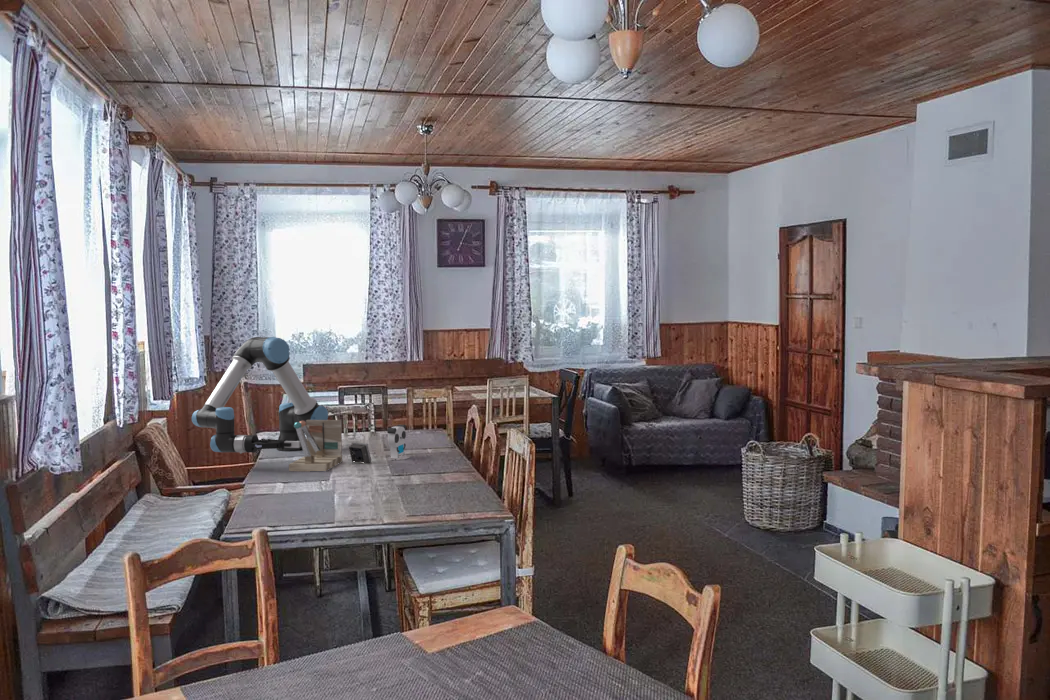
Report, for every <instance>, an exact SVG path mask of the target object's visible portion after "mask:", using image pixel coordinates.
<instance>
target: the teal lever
mask: <svg viewBox="0 0 1050 700" xmlns="http://www.w3.org/2000/svg"><path fill="white" fill-rule="evenodd" d="M301 426H302V425H301V423H300V422H296V423H295V424H294V428H295V429H296V431H297V434H298V437H299V440H300V443H301V446H302V452H303V455H304V456H305V457H311V454H310V451H309V448H308V445H307V442H306V439H307V438H306V439H305V437H306V435H305V436H304V434H305V433H303V430H302V427H301ZM311 459H312V457H311Z"/></svg>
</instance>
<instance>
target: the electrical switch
mask: <svg viewBox="0 0 1050 700" xmlns="http://www.w3.org/2000/svg"><path fill="white" fill-rule="evenodd" d="M348 450H349V454H350V457H351V462H352V463H355V462H360V461H361V462H364V463H365V464H367V463H368V462H370V463H371V462H372V457H371V453H370V449H369V445H368V443H367V442H358V441H353V442H351V445H349V446H348ZM353 461H355V462H353Z"/></svg>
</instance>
